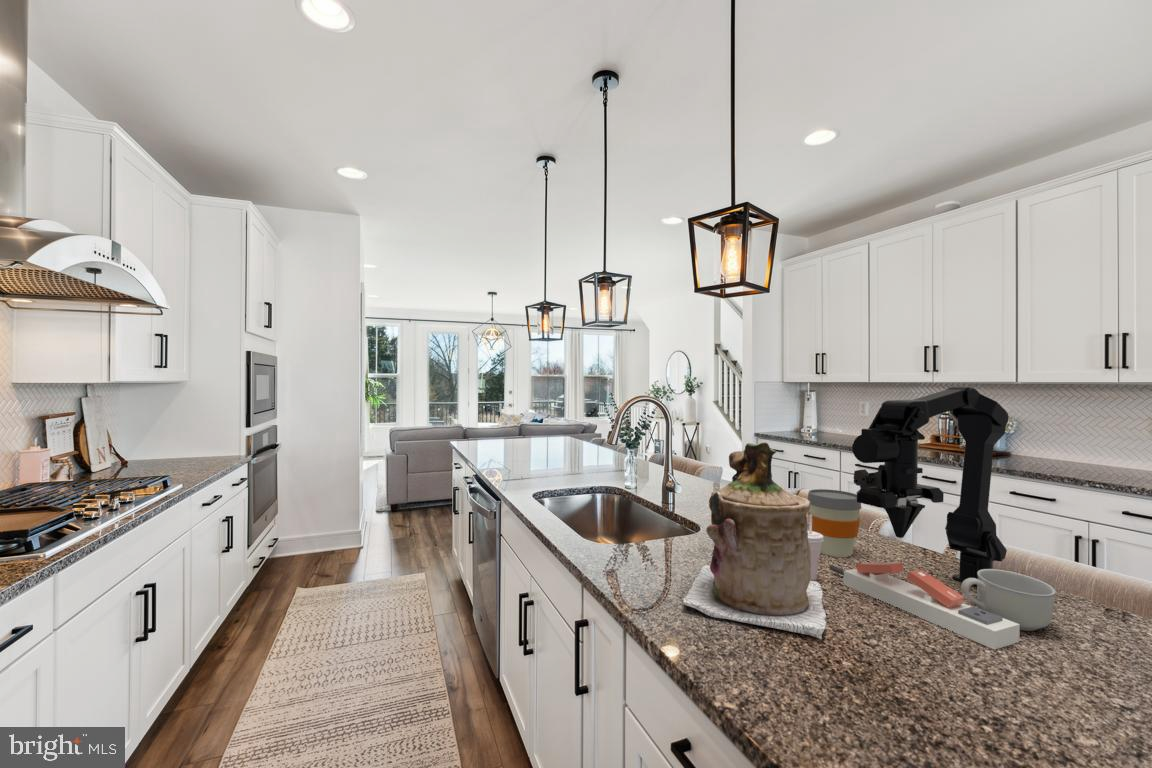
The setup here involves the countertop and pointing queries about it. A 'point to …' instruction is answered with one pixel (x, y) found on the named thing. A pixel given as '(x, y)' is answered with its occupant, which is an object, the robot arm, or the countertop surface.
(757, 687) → the countertop surface
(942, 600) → the block
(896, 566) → the rocker
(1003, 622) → the power strip
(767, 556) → the cookie jar
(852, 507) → the reusable coffee cup
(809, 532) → the smoothie
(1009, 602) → the teacup
